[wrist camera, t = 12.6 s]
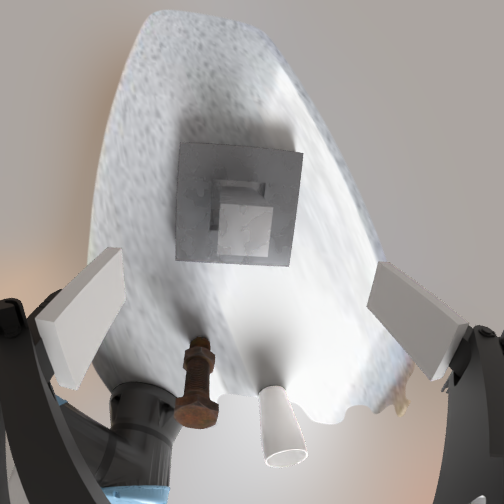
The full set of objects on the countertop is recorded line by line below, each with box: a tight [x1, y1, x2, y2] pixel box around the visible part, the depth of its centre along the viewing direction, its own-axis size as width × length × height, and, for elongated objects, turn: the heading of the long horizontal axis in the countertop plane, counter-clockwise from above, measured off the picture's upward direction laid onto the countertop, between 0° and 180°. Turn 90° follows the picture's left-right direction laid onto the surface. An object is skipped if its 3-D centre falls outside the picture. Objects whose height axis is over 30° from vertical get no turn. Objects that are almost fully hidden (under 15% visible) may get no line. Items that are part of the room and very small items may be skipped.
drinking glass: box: [258, 386, 308, 468], centre depth 40 cm, size 7×7×15 cm
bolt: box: [174, 337, 219, 429], centre depth 35 cm, size 6×5×15 cm
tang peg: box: [217, 185, 273, 257], centre depth 28 cm, size 4×4×14 cm
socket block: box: [176, 143, 303, 267], centre depth 34 cm, size 14×14×4 cm
